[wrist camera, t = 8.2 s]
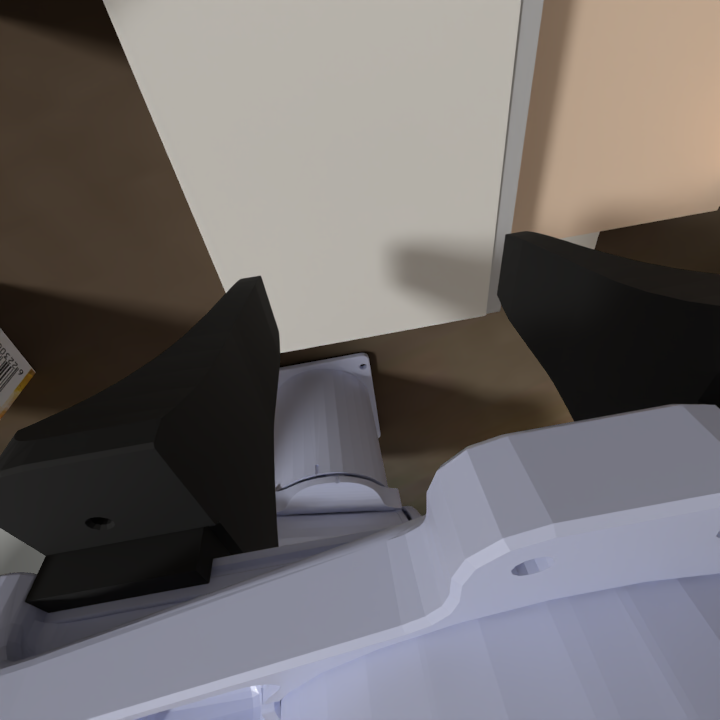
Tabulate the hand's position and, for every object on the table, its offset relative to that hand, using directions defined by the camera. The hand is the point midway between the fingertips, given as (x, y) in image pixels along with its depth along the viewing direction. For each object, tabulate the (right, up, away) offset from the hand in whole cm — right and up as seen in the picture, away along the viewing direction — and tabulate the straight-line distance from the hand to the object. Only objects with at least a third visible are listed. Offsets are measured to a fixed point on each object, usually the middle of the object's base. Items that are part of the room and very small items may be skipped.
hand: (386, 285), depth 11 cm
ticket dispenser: (+2, +8, +7) cm, 11 cm away
